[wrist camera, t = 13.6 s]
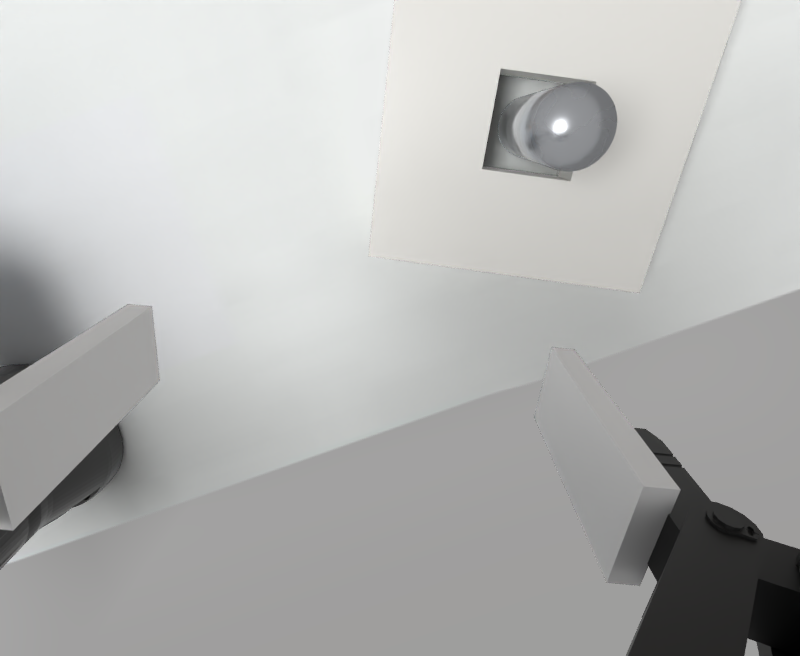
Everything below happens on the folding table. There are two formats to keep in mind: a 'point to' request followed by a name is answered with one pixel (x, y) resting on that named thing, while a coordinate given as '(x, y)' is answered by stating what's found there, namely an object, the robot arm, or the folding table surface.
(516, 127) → the steel pin
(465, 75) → the socket block
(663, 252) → the folding table surface
